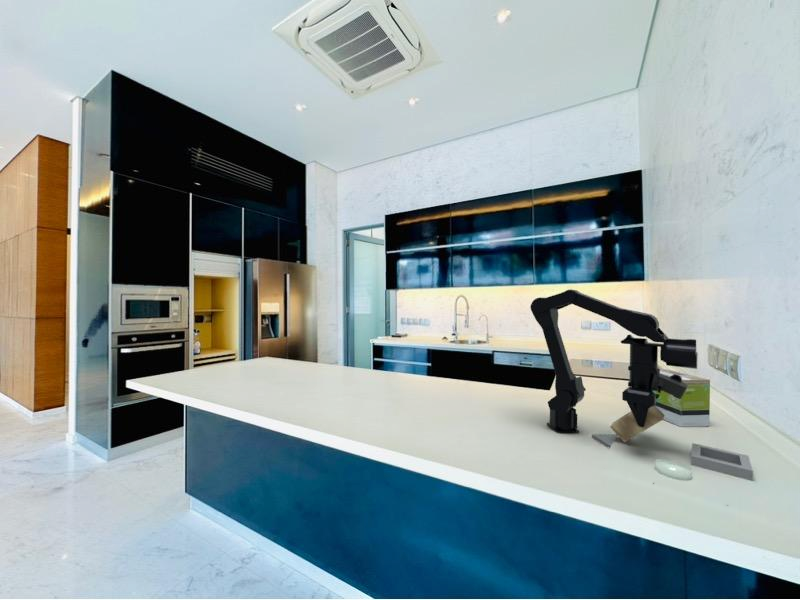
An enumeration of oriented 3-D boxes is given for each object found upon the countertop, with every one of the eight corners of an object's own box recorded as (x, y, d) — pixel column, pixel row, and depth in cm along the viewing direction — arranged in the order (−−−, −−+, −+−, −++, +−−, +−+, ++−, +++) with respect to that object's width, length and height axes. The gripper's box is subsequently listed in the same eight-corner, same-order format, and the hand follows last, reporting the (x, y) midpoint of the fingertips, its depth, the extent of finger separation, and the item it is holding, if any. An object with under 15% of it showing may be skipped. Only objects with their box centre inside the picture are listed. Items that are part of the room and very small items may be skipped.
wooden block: (609, 426, 87) (646, 403, 82) (613, 422, 90) (648, 399, 85) (624, 442, 85) (663, 419, 80) (627, 437, 88) (664, 414, 83)
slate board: (630, 461, 78) (630, 458, 78) (591, 437, 92) (592, 434, 92) (686, 460, 78) (686, 457, 78) (640, 436, 92) (640, 433, 92)
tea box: (640, 411, 115) (640, 368, 115) (667, 410, 116) (667, 368, 116) (680, 427, 100) (681, 378, 100) (711, 427, 101) (711, 378, 101)
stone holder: (691, 469, 74) (691, 455, 74) (692, 455, 81) (692, 443, 81) (752, 485, 68) (752, 470, 68) (748, 468, 75) (748, 455, 75)
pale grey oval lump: (671, 485, 68) (672, 472, 68) (648, 470, 74) (648, 459, 74) (699, 484, 68) (699, 472, 68) (673, 469, 74) (673, 458, 74)
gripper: (683, 373, 72) (682, 445, 72) (686, 362, 86) (685, 422, 86) (622, 365, 79) (621, 431, 79) (634, 357, 93) (633, 412, 93)
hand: (642, 424), depth 84 cm, fingers open, 5 cm apart
